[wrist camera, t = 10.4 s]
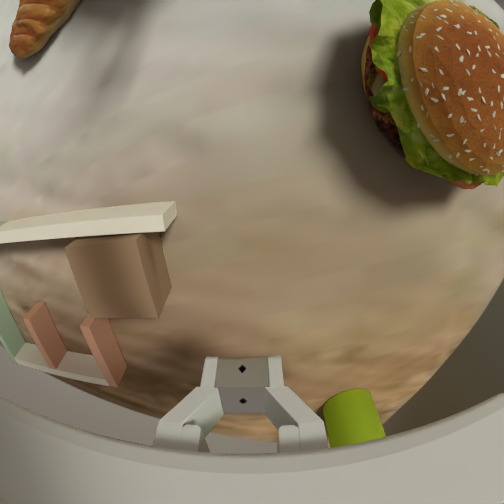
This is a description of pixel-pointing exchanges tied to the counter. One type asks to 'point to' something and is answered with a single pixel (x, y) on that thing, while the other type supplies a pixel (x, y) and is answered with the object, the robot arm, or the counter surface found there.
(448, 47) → the food
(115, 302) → the block
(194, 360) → the counter surface
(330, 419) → the soap dispenser
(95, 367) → the box
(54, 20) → the pastry
